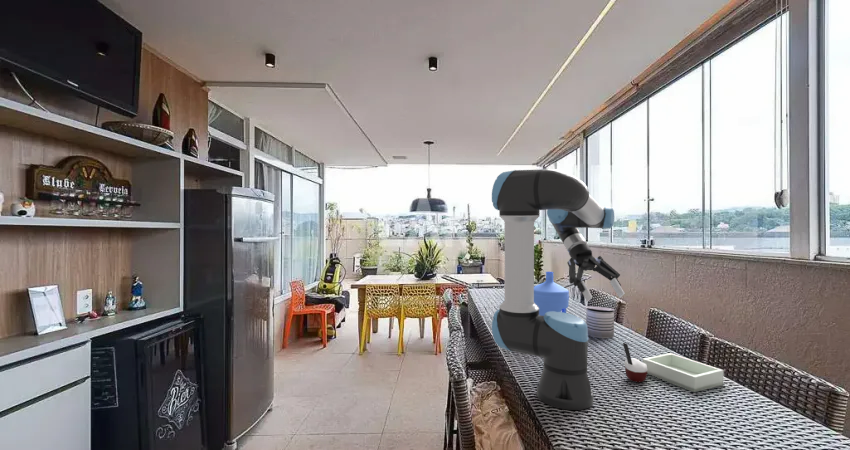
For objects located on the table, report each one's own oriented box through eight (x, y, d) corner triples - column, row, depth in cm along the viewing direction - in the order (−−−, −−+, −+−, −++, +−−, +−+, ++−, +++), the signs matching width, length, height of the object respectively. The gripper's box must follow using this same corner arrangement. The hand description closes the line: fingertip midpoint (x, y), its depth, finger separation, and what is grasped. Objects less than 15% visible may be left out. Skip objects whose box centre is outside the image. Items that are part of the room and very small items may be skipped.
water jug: (535, 344, 164) (536, 274, 164) (524, 333, 180) (525, 269, 179) (574, 344, 165) (575, 274, 164) (560, 333, 180) (561, 269, 180)
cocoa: (644, 377, 132) (646, 340, 132) (654, 385, 126) (656, 346, 126) (614, 375, 132) (616, 338, 133) (623, 383, 126) (625, 344, 126)
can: (580, 334, 180) (581, 306, 179) (592, 329, 187) (593, 303, 187) (606, 340, 171) (607, 311, 171) (618, 334, 179) (619, 307, 178)
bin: (694, 392, 120) (694, 377, 120) (642, 372, 136) (642, 358, 136) (723, 384, 126) (723, 370, 126) (670, 365, 142) (670, 353, 142)
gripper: (600, 252, 161) (628, 299, 147) (545, 256, 153) (570, 306, 140) (610, 240, 155) (641, 288, 142) (553, 244, 147) (581, 294, 134)
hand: (606, 297), depth 141 cm, fingers open, 13 cm apart
